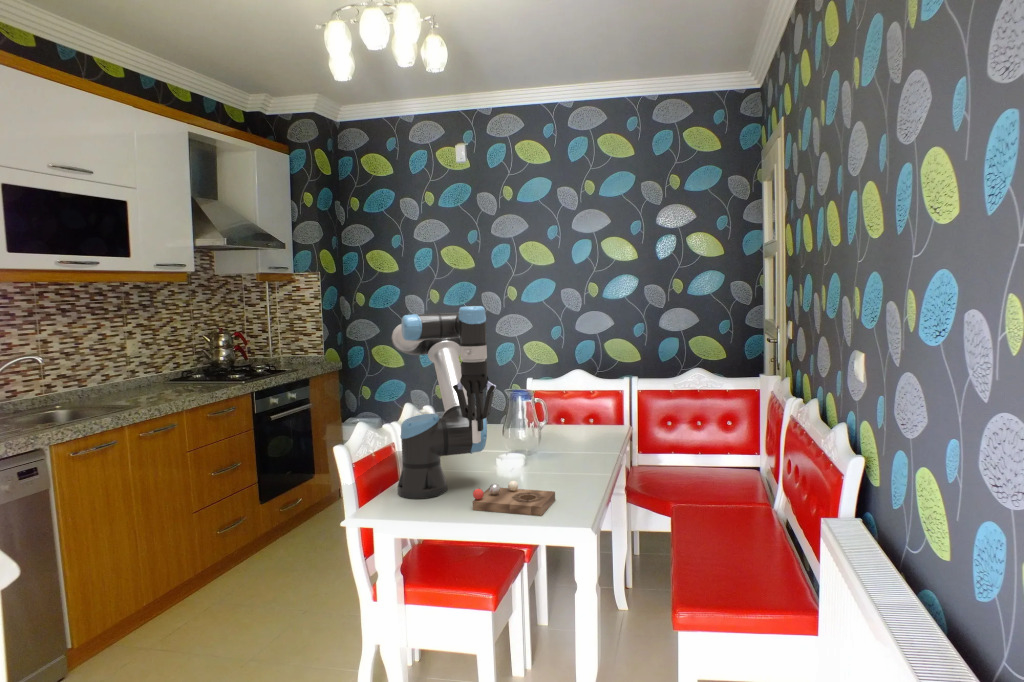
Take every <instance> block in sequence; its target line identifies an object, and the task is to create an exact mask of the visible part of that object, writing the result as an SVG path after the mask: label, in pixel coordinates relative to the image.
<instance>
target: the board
mask: <svg viewBox="0 0 1024 682" xmlns="http://www.w3.org/2000/svg"><path fill="white" fill-rule="evenodd" d="M483 493H484V496H483V498H482V499H480V500H477V499H475V498H474V500H473V501H472V511H478V512H488V513H489V512H491V513H500V514H501V513H503V514H514V515H515V514H516V515H525V516H526V515H527V516H537V517H538V516H540V517H542V516H543V515H544V514H545V513H546V512H547V510H548V509H549V508H550V507H551V506H552V505H553V503H554V502H555V501H556V491H553V490H538V489H524V488H523V489H522V488H518V489H517V490H516V491H511V490H509V488H508V487H500V492H499V493H498V494H497V495H492V494H491V493H490V492H489V487H488V488H487V489H486V490H484V491H483Z"/></svg>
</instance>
